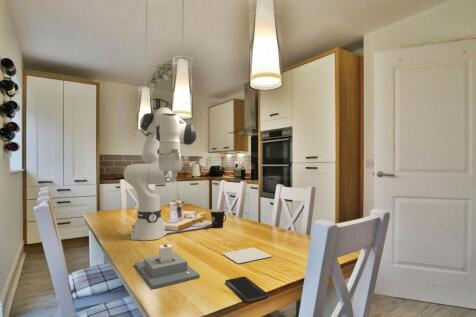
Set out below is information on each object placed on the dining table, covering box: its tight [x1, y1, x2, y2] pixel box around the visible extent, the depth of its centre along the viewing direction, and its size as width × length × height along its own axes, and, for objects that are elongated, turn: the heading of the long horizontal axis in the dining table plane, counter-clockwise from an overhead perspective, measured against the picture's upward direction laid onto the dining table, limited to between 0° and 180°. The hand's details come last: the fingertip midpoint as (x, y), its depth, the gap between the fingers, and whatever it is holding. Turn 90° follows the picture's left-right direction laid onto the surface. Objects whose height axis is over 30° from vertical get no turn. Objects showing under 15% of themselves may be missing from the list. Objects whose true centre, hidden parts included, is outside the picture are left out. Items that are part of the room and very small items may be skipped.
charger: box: [158, 243, 173, 264], centre depth 100 cm, size 4×4×8 cm
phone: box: [225, 276, 269, 304], centre depth 86 cm, size 8×1×15 cm
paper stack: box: [221, 247, 272, 264], centre depth 111 cm, size 23×25×1 cm
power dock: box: [134, 252, 200, 290], centre depth 100 cm, size 24×16×4 cm, turn 33°
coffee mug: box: [210, 209, 227, 229], centre depth 168 cm, size 12×9×10 cm
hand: (169, 181), depth 120 cm, fingers open, 8 cm apart
